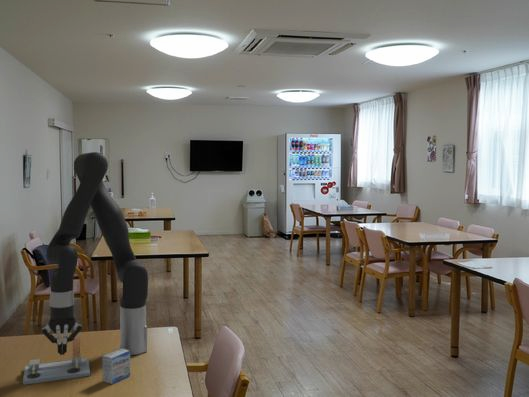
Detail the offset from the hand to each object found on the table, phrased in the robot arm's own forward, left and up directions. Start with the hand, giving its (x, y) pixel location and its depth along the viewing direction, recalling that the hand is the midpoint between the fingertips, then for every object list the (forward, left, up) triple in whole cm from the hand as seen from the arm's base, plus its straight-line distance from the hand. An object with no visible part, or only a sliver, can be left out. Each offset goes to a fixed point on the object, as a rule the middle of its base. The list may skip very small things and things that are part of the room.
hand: (62, 354), depth 171 cm
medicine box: (-16, +12, -6) cm, 21 cm away
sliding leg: (-5, +1, -4) cm, 6 cm away
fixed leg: (+9, +1, -4) cm, 10 cm away
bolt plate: (+2, +1, -6) cm, 6 cm away
